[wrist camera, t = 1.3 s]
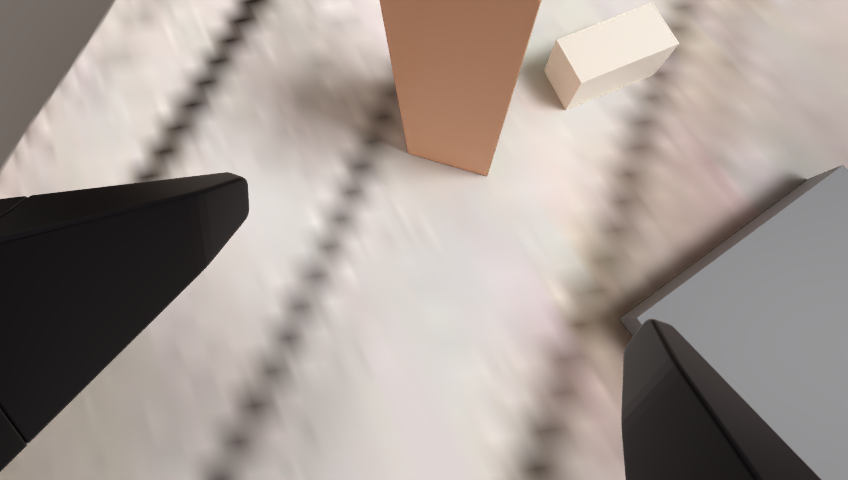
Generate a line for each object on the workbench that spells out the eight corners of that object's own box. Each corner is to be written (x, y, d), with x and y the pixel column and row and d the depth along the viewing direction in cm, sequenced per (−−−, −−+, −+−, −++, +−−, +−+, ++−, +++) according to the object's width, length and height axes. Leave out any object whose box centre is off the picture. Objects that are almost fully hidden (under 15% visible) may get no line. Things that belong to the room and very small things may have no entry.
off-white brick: (564, 112, 25) (581, 83, 22) (543, 73, 25) (556, 39, 22) (651, 76, 25) (679, 43, 22) (627, 39, 26) (652, 2, 23)
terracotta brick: (486, 176, 24) (540, 1, 11) (408, 153, 24) (372, -39, 12) (509, 104, 25) (582, -134, 12) (433, 83, 25) (425, -165, 12)
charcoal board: (815, 567, 19) (859, 595, 17) (618, 318, 22) (636, 318, 20) (1019, 392, 20) (1081, 399, 18) (808, 178, 23) (842, 164, 21)
